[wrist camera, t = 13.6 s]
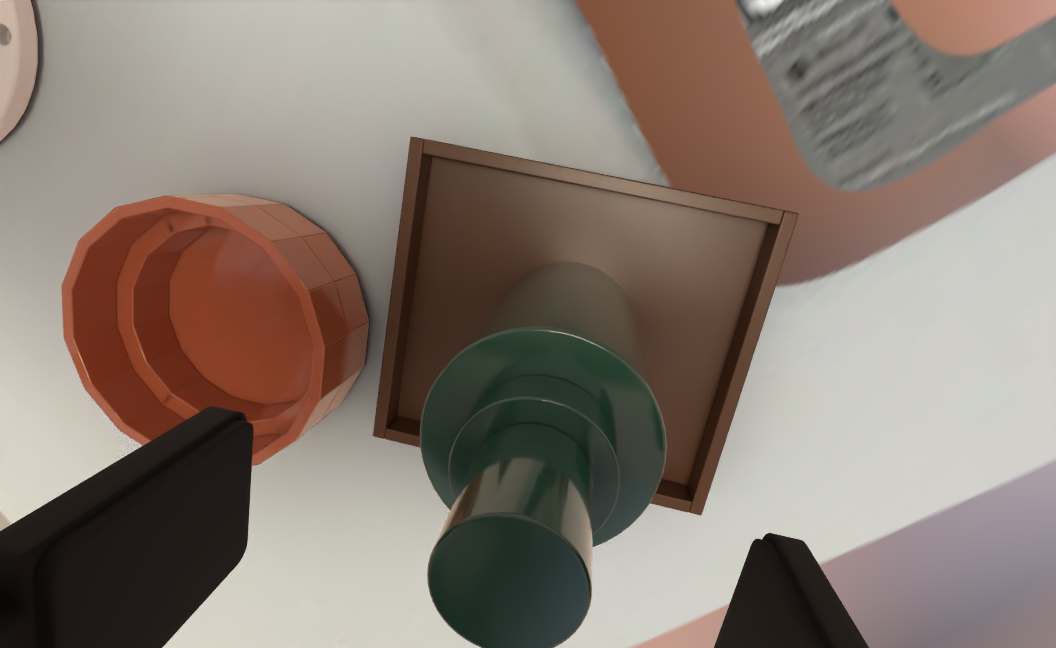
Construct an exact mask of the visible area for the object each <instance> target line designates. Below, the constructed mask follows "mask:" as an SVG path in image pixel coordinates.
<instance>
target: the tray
mask: <svg viewBox="0 0 1056 648" xmlns="http://www.w3.org/2000/svg"><path fill="white" fill-rule="evenodd" d="M797 218H798V213H795V212H790V211H785V210H780V209H775V208H770V207H765V206H759V205H755V204H750V203H745V202H740V201H735V200H730V199H724V198H720V197H715V196H709V195H704V194H699V193H694V192H689V191H684V190H679V189H674V188H669V187H664V186H659V185H654V184H649V183H644V182H639V181H634V180H629V179H624V178H619V177H614V176H609V175H604V174H598V173H593V172H588V171H583V170H578V169H573V168H568V167H563V166H558V165H553V164H548V163H543V162H538V161H533V160H528V159H523V158H518V157H513V156H508V155H503V154H498V153H493V152H487V151H482V150H477V149H472V148H467V147H462V146H457V145H452V144H447V143H442V142H437V141H432V140H427V139H422V138H417V137H411V138H410V146H409V154H408V162H407V170H406V178H405V186H404V194H403V202H402V210H401V218H400V226H399V234H398V241H397V249H396V257H395V265H394V273H393V281H392V289H391V297H390V305H389V313H388V321H387V329H386V337H385V345H384V353H383V361H382V369H381V376H380V384H379V392H378V400H377V408H376V416H375V424H374V432H373V436H375V437H379V438H383V439H384V438H385V439H387V440H391V441H396V442H400V443H404V444H408V445H412V446H416V447H420V448H421V446H420V422H421V415H422V411H423V406H424V403H425V400H426V397H427V395H428V392H429V390H430V388H431V386H432V384H433V383H434V381H435V379H436V377H437V376H438V375H439V373H440V372H441V371H442V369H443V368H444V367H445V365H446V364H447V363H448V362H449V361H450V360H451V358H452V357H453V356H454V355H455V354H456V353H457V351H458V350H459V349H460V348H461V347H462V346H463V344H464V343H465V342H466V341H467V340H468V339H469V337H470V336H471V335H472V334H473V333H474V332H475V330H476V329H477V328H478V327H479V326H480V325H481V323H482V322H483V321H484V320H485V319H486V318H487V316H488V315H489V314H490V313H491V312H492V311H493V309H494V308H495V307H496V306H497V305H498V304H499V303H500V301H501V300H502V299H503V298H504V297H505V296H506V294H507V293H508V292H509V291H510V290H511V289H512V287H513V286H514V285H515V284H516V283H517V282H518V281H519V280H520V279H521V278H522V277H523V276H525V275H526V274H527V273H529V272H531V271H532V270H534V269H536V268H538V267H541V266H543V265H546V264H550V263H555V262H577V263H583V264H586V265H590V266H592V267H595V268H597V269H599V270H601V271H602V272H604V273H606V274H607V275H608V276H610V277H611V278H612V279H613V280H614V281H615V282H616V283H617V284H618V285H619V286H620V287H621V288H622V290H623V291H624V292H625V294H626V296H627V297H628V299H629V301H630V304H631V306H632V309H633V312H634V316H635V319H636V323H637V327H638V330H639V334H640V337H641V341H642V345H643V348H644V352H645V356H646V359H647V363H648V366H649V370H650V374H651V377H652V381H653V385H654V388H655V392H656V395H657V399H658V403H659V406H660V410H661V413H662V417H663V422H664V426H665V431H666V443H667V449H666V462H665V467H664V471H663V476H662V478H661V481H660V484H659V486H658V489H657V491H656V493H655V495H654V496H653V498H652V500H651V502H650V503H651V504H655V505H660V506H664V507H668V508H672V509H676V510H680V511H684V512H690V513H693V514H697V515H702V512H703V509H704V506H705V503H706V499H707V496H708V493H709V490H710V487H711V484H712V481H713V478H714V475H715V472H716V469H717V465H718V462H719V459H720V456H721V453H722V450H723V447H724V444H725V441H726V438H727V435H728V432H729V428H730V425H731V422H732V419H733V416H734V413H735V410H736V407H737V404H738V401H739V398H740V394H741V391H742V388H743V385H744V382H745V379H746V376H747V373H748V370H749V367H750V364H751V360H752V357H753V354H754V351H755V348H756V345H757V342H758V339H759V336H760V333H761V330H762V327H763V323H764V320H765V317H766V314H767V311H768V308H769V305H770V302H771V299H772V296H773V293H774V289H775V286H776V283H777V280H778V277H779V274H780V271H781V268H782V265H783V262H784V259H785V255H786V252H787V249H788V246H789V243H790V240H791V237H792V234H793V231H794V228H795V225H796V221H797Z"/></svg>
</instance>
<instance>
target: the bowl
mask: <svg viewBox="0 0 1056 648" xmlns="http://www.w3.org/2000/svg"><path fill="white" fill-rule="evenodd" d="M62 309H63V332H64V340H65V342H66V345H67V347H68V350H69V352H70V355H71V357H72V359H73V362H74V364H75V367H76V369H77V372H78V374H79V377H80V379H81V382H82V384H83V386H84V388H85V390H86V391H87V392H88V393H89V395H90V396H91V397H92V398H93V399H94V401H95V402H96V403H97V404H98V405H99V407H100V408H101V409H102V410H103V411H104V413H105V414H106V415H107V416H108V417H109V419H110V420H111V421H112V422H113V423H114V425H115V426H116V427H117V428H118V429H120V431H121V432H123V433H124V434H126V435H127V436H129V437H130V438H132V439H134V440H135V441H137V442H138V443H140V444H141V445H145V444H147V443H148V442H150V441H152V440H153V439H155V438H157V437H158V436H160V435H162V434H163V433H165V432H167V431H168V430H170V429H172V428H173V427H175V426H177V425H178V424H180V423H182V422H183V421H185V420H187V419H189V418H190V417H192V416H194V415H195V414H197V413H199V412H200V411H202V410H204V409H205V408H207V407H210V406H216V407H221V408H225V409H230V410H234V411H238V412H242V413H244V414H245V416H246V418H247V422H250V423H251V424H252V425H253V431H254V432H253V450H252V466H253V465H258V464H261V463H262V462H264V461H265V460H267V459H268V458H270V457H271V456H273V455H274V454H276V453H278V452H279V451H281V450H282V449H284V448H285V447H287V446H288V445H290V444H291V443H293V442H295V441H296V440H297V439H298V438H300V437H301V436H302V435H303V434H304V433H306V432H307V431H308V430H309V429H310V428H312V427H313V426H314V425H315V424H316V423H318V422H319V421H320V420H321V419H322V418H324V417H325V416H326V415H327V414H328V413H330V412H331V411H332V410H333V409H334V408H335V407H337V406H338V405H339V404H340V403H341V402H342V401H343V400H344V399H345V397H346V395H347V394H348V392H349V390H350V389H351V387H352V385H353V384H354V382H355V380H356V379H357V377H358V375H359V374H360V372H361V370H362V369H363V367H364V363H365V355H366V346H367V338H368V329H369V319H368V315H367V311H366V308H365V304H364V300H363V297H362V293H361V289H360V286H359V282H358V278H357V275H356V273H355V272H354V270H353V269H352V267H351V266H350V265H349V263H348V262H347V260H346V259H345V258H344V256H343V255H342V253H341V252H340V251H339V249H338V248H337V247H336V245H335V244H334V242H333V241H332V240H331V238H330V237H329V235H328V234H327V233H326V232H325V231H324V230H322V229H321V228H319V227H318V226H316V225H315V224H313V223H312V222H310V221H309V220H308V219H306V218H305V217H303V216H302V215H300V214H299V213H297V212H296V211H294V210H293V209H291V208H290V207H288V206H287V205H285V204H283V203H279V202H274V201H269V200H264V199H260V198H255V197H250V196H245V195H241V194H213V195H165V196H161V197H157V198H152V199H148V200H144V201H140V202H135V203H131V204H127V205H123V206H119V207H116V208H114V209H113V210H112V211H111V212H110V213H109V214H108V215H106V216H105V217H104V218H103V219H102V220H101V221H100V222H99V223H97V224H96V225H95V226H94V227H93V228H92V229H91V230H90V231H89V232H87V233H86V234H85V235H84V236H83V237H82V238H81V239H80V240H79V241H78V244H77V247H76V249H75V252H74V255H73V257H72V260H71V262H70V265H69V268H68V270H67V273H66V276H65V278H64V281H63V283H62Z"/></svg>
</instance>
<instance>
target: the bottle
mask: <svg viewBox="0 0 1056 648" xmlns="http://www.w3.org/2000/svg"><path fill="white" fill-rule="evenodd" d="M420 446H421V452H422V457H423V462H424V465H425V468H426V471H427V474H428V477H429V479H430V481H431V483H432V485H433V487H434V489H435V490H436V492H437V493H438V495H439V497H440V498H441V500H442V501H443V502H444V504H445V505H446V506H447V507H448V508H449V509H450V513H449V515H448V518H447V520H446V522H445V524H444V526H443V528H442V531H441V533H440V535H439V537H438V539H437V542H436V544H435V546H434V548H433V551H432V553H431V555H430V559H429V563H428V571H427V577H428V586H429V591H430V595H431V598H432V601H433V603H434V605H435V607H436V609H437V611H438V612H439V614H440V615H441V617H442V618H443V620H444V621H445V622H446V623H447V624H448V625H449V626H450V627H451V628H452V629H453V630H454V631H455V632H456V633H457V634H459V635H460V636H462V637H463V638H464V639H466V640H468V641H469V642H471V643H473V644H475V645H477V646H479V647H481V648H554V647H556V646H558V645H560V644H561V643H563V642H564V641H566V640H567V639H568V638H570V637H571V636H572V635H573V634H574V633H575V632H576V630H577V629H578V628H579V627H580V625H581V624H582V622H583V621H584V619H585V617H586V615H587V612H588V610H589V607H590V602H591V595H592V547H594V546H597V545H599V544H602V543H604V542H606V541H608V540H610V539H611V538H613V537H615V536H617V535H618V534H620V533H621V532H622V531H624V530H625V529H626V528H628V527H629V526H630V525H631V524H632V523H633V522H634V521H635V520H636V519H637V518H638V517H639V516H640V515H641V514H642V513H643V511H644V510H645V509H646V507H647V506H648V505H649V503H650V502H651V500H652V498H653V496H654V495H655V493H656V491H657V489H658V486H659V484H660V481H661V478H662V476H663V471H664V467H665V462H666V449H667V443H666V431H665V426H664V422H663V417H662V413H661V410H660V406H659V403H658V399H657V395H656V392H655V388H654V385H653V381H652V377H651V374H650V370H649V366H648V363H647V359H646V356H645V352H644V348H643V345H642V341H641V337H640V334H639V330H638V327H637V323H636V319H635V316H634V312H633V309H632V306H631V304H630V301H629V299H628V297H627V296H626V294H625V292H624V291H623V290H622V288H621V287H620V286H619V285H618V284H617V283H616V282H615V281H614V280H613V279H612V278H611V277H610V276H608V275H607V274H606V273H604V272H602V271H601V270H599V269H597V268H595V267H592V266H590V265H586V264H583V263H577V262H555V263H550V264H546V265H543V266H541V267H538V268H536V269H534V270H532V271H531V272H529V273H527V274H526V275H525V276H523V277H522V278H521V279H520V280H519V281H518V282H517V283H516V284H515V285H514V286H513V287H512V289H511V290H510V291H509V292H508V293H507V294H506V296H505V297H504V298H503V299H502V300H501V301H500V303H499V304H498V305H497V306H496V307H495V308H494V309H493V311H492V312H491V313H490V314H489V315H488V316H487V318H486V319H485V320H484V321H483V322H482V323H481V325H480V326H479V327H478V328H477V329H476V330H475V332H474V333H473V334H472V335H471V336H470V337H469V339H468V340H467V341H466V342H465V343H464V344H463V346H462V347H461V348H460V349H459V350H458V351H457V353H456V354H455V355H454V356H453V357H452V358H451V360H450V361H449V362H448V363H447V364H446V365H445V367H444V368H443V369H442V371H441V372H440V373H439V375H438V376H437V377H436V379H435V381H434V383H433V384H432V386H431V388H430V390H429V392H428V395H427V397H426V400H425V403H424V406H423V411H422V415H421V422H420Z"/></svg>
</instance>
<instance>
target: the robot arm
mask: <svg viewBox="0 0 1056 648" xmlns="http://www.w3.org/2000/svg"><path fill="white" fill-rule="evenodd" d="M37 65H38V36H37V30H36V24H35V18H34V12H33V7H32V4H31V1H30V0H0V141H1V140H2V139H3V138H4V137H5V136H6V135H7V134H8V133H9V132H10V131H11V130H12V129H14V127H15V126H16V124H17V123H18V121H19V119H20V118H21V116H22V115H23V113H24V112H25V110H26V108H27V105H28V102H29V99H30V97H31V94H32V91H33V88H34V84H35V78H36V71H37ZM253 432H254V431H253V425H252V424H251V423H250V422H247V418H246V416H245V414H244V413H242V412H238V411H234V410H230V409H225V408H221V407H216V406H210V407H207V408H205V409H204V410H202V411H200V412H199V413H197V414H195V415H194V416H192V417H190V418H189V419H187V420H185V421H183V422H182V423H180V424H178V425H177V426H175V427H173V428H172V429H170V430H168V431H167V432H165V433H163V434H162V435H160V436H158V437H157V438H155V439H153V440H152V441H150V442H148V443H147V444H145V445H143V446H142V447H140V448H138V449H137V450H135V451H133V452H132V453H130V454H128V455H127V456H125V457H123V458H122V459H120V460H118V461H117V462H115V463H113V464H112V465H110V466H108V467H107V468H105V469H103V470H102V471H100V472H98V473H97V474H95V475H93V476H92V477H90V478H88V479H87V480H85V481H83V482H82V483H80V484H78V485H77V486H75V487H73V488H72V489H70V490H68V491H67V492H65V493H63V494H62V495H60V496H58V497H57V498H55V499H53V500H52V501H50V502H48V503H47V504H45V505H43V506H42V507H40V508H38V509H37V510H35V511H33V512H32V513H30V514H28V515H27V516H25V517H23V518H22V519H20V520H18V521H17V522H15V523H13V524H12V525H10V526H8V527H7V528H5V529H3V530H2V531H0V648H162V647H163V646H164V645H165V644H166V643H167V642H168V641H169V640H170V638H171V637H172V636H173V635H174V634H175V633H176V632H177V631H178V630H179V629H180V627H181V626H182V625H183V624H184V623H185V622H186V621H187V620H188V619H189V618H190V616H191V615H192V614H193V613H194V612H195V611H196V610H197V609H198V608H199V606H200V605H201V604H202V603H203V602H204V601H205V600H206V599H207V598H208V597H209V595H210V594H211V593H212V592H213V591H214V590H215V589H216V588H217V587H218V586H219V584H220V583H221V582H222V581H223V580H224V579H225V578H226V577H227V576H228V574H229V573H230V572H231V571H232V570H233V569H234V568H235V567H236V566H237V564H238V563H239V562H240V560H241V559H242V557H243V555H244V553H245V550H246V547H247V541H248V523H249V504H250V486H251V468H252V450H253ZM714 648H869V647H868V645H867V644H866V642H865V640H864V639H863V637H862V635H861V634H860V632H859V630H858V629H857V627H856V625H855V624H854V622H853V621H852V619H851V617H850V616H849V614H848V612H847V611H846V609H845V607H844V606H843V604H842V602H841V601H840V599H839V598H838V596H837V594H836V592H835V591H834V589H833V588H832V586H831V584H830V583H829V581H828V579H827V578H826V576H825V574H824V573H823V571H822V570H821V568H820V566H819V564H818V563H817V561H816V560H815V558H814V556H813V555H812V553H811V551H810V550H809V548H808V546H807V545H806V544H805V542H804V541H802V540H799V539H794V538H790V537H785V536H781V535H777V534H772V533H768V534H766V535H765V536H764V537H763V539H762V540H761V539H755V540H754V541H753V543H752V545H751V547H750V550H749V553H748V555H747V558H746V561H745V564H744V566H743V569H742V572H741V575H740V577H739V580H738V583H737V586H736V588H735V591H734V594H733V597H732V599H731V602H730V605H729V608H728V610H727V614H726V616H725V619H724V621H723V624H722V627H721V630H720V632H719V635H718V639H717V641H716V644H715V646H714Z"/></svg>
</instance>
